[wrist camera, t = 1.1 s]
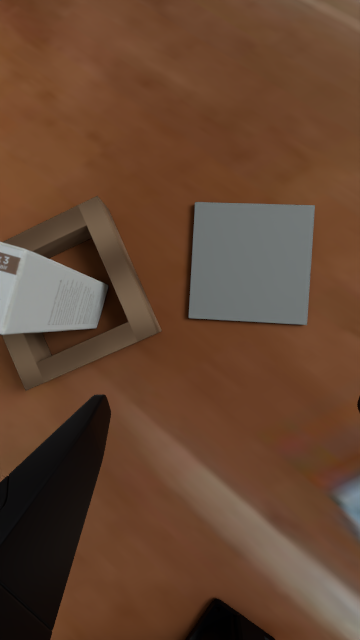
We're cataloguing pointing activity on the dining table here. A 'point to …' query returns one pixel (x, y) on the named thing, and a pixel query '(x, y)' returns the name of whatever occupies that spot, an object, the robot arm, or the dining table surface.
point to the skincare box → (45, 294)
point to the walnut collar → (100, 226)
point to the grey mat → (251, 262)
